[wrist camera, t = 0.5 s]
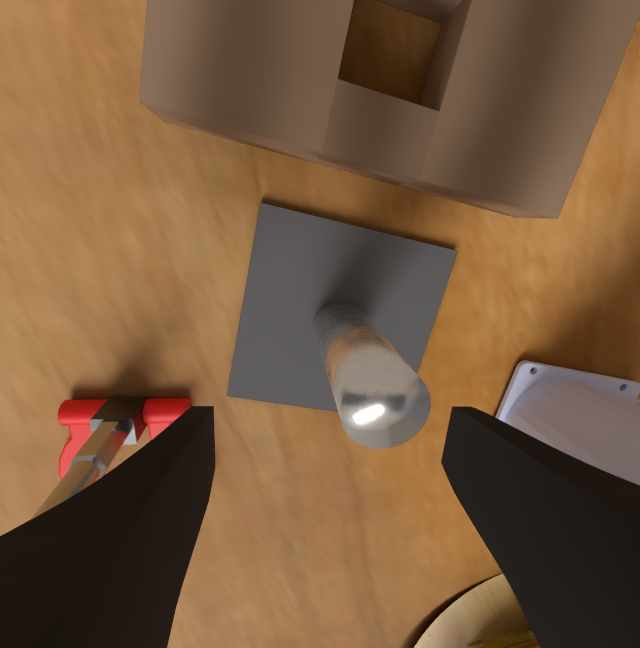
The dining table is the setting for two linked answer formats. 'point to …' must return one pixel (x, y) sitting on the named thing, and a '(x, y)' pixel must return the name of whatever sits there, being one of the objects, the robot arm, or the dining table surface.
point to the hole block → (393, 113)
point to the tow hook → (105, 436)
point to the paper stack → (482, 621)
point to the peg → (369, 378)
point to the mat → (327, 300)
